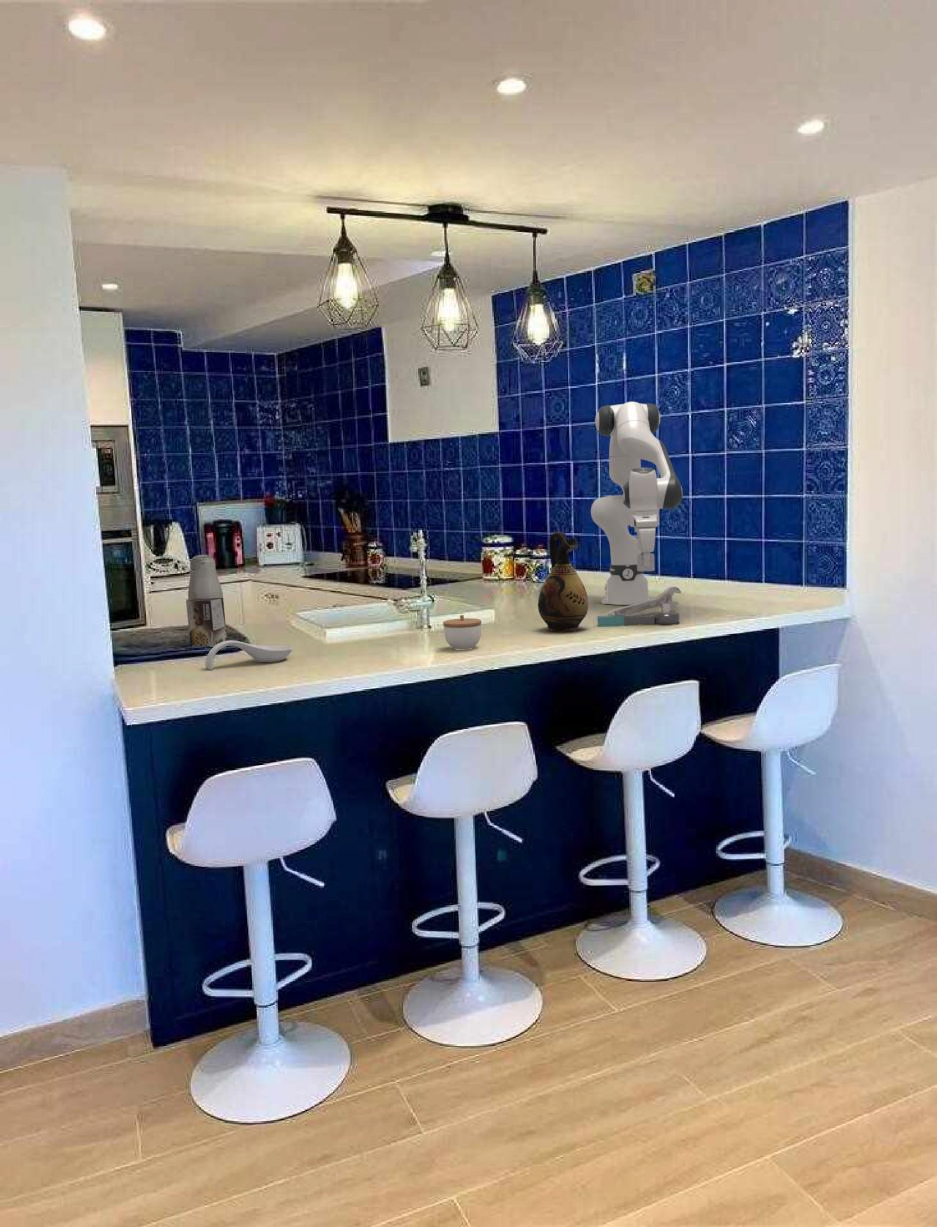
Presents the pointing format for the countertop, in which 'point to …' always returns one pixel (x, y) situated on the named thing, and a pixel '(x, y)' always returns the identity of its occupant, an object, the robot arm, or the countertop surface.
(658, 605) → the wrench
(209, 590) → the grey tapered cylinder
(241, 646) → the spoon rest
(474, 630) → the lidded jar
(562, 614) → the ceramic jug
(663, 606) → the ratchet
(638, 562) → the socket
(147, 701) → the countertop surface
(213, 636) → the coffee box
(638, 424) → the robot arm
